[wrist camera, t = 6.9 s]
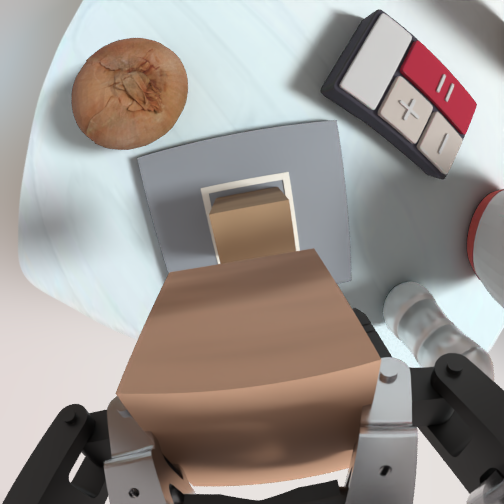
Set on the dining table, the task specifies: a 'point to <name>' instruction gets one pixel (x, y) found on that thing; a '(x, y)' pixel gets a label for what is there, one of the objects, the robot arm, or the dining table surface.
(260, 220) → the walnut block
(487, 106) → the dining table surface
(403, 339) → the plastic bottle
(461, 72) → the dining table surface
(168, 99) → the onion
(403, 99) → the calculator
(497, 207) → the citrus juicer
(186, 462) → the terracotta block
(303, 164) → the grey flat plate
